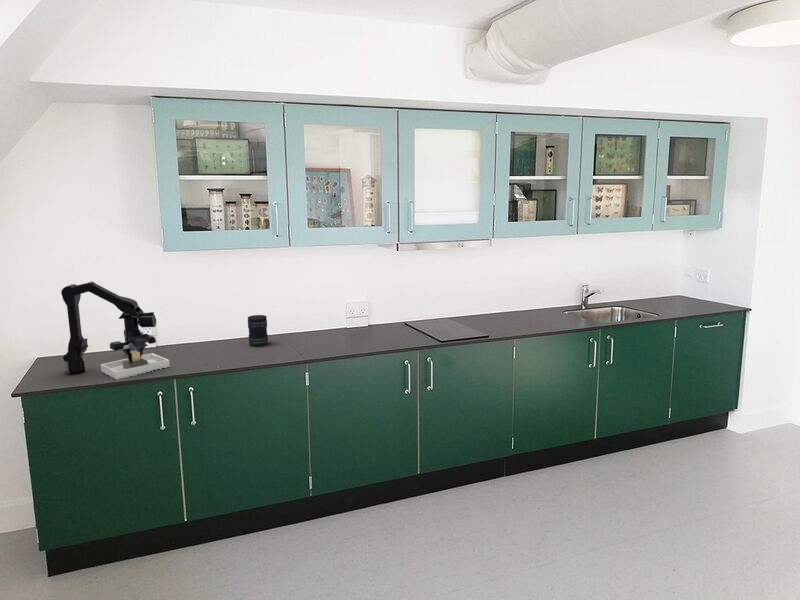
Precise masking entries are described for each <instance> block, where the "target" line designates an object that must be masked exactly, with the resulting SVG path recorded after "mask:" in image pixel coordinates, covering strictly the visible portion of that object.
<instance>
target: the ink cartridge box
mask: <svg viewBox="0 0 800 600" xmlns="http://www.w3.org/2000/svg"><path fill="white" fill-rule="evenodd" d="M140 333H141V335H143V334H144V332H143V331H140ZM123 336H124V342H126V341H125V339H126V336H125V332H124V331H123ZM129 348H130V349H131V350H130V351H134V350H137V347H134V345H129ZM146 354H147V353H146V347H145V348H144V349H143V352H142V355H146ZM142 355H141V356H142Z"/></svg>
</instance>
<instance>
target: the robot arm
mask: <svg viewBox="0 0 800 600" xmlns="http://www.w3.org/2000/svg"><path fill="white" fill-rule="evenodd" d="M60 291H61V296H62V300H63V303H64V304H65V305H66V310H67V311H66V312H67V319H68V328H69V341H68V346H67V352H66V353H65V354H64V355H63V357H62V359H63V362H65V369H66V370H65V373H66V374H68V375H70V376H71V375H75V374H80V373H84V372H86V365H85V360H83V356H84V354H85V352H87V349H88V348H89V344H88V338H84V337H83V334H82V333H83V332H82V324H81V315H80V305H79V303H80V300H81V296H82V294H85V293H91V294H93V295H94V296H97V297H99V298H101V299H102V300H104V301H107V302H108V303H111V304H112V305H113V306H115V307H116V309H117V310H119V311H120V312H122V313H121V315H120V316H119V317H118V319H119V320H123V323H124V329H123V333H124V332H125V336H126V339H125V338H124V341H123V342H122V341H120V340H117V341H113V342H110V344H109V349H110V350H113V352H115V351H117V352H118V351H122V352H123V353H124V354H125V356H126V359H128V360H129V361H130V362H131V354H130V350H131V349H130V348H129V345H134V347H137V351H140V359H141V355H142V352H143V349H144V348H145V349H146V347H148V346H149V345H150V344H155V343H156V342H157V340H156V337H155V336H153V335H150V334H149V333H143V335H141V333H140V332H141V330H140V328H139V327H141V328H156V326H157V317H156V314H155V312H154V311H149V312H144V310H143V309H142V308H141V307H140V306H139V304H138V302H137V300H136V299H132V298H130V297H127V296H121V295H119V294H117V293H114V292H112V291H110V289H107V288H105V287H103V286H101V285H99V284H97V283H96V282H95V281H89V282H86V283H82V284H76V283H75V284H74V283H73V284H72V283H71V284H69V285H66V286H64V287H63V288H62V289H61V290H60ZM125 341H126V342H125ZM147 343H148V344H149V345H148V344H147Z"/></svg>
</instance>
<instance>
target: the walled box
mask: <svg viewBox="0 0 800 600" xmlns="http://www.w3.org/2000/svg"><path fill="white" fill-rule="evenodd" d="M140 360H141V361H140V362H136V363H130V362H129V360H128V358H124V359H123V358H122V359H119V360H114V361H110V362H104V363H101V364H100V372H101V373H102V374H105V375H106V376H108V375H109V377H111V378H112V379H115V380H116V381H118V380H122V379H126V378H130V376H131V377H135V376H139V375H143V374H147V373H146V372H148V373H151V372H150V371H152V372H154V371H153V370H156V371H158V370H157V369H160V370H163V369H162V368H165V369H168V368H167V367H169V368H171V366H170V359H167V358H166V357H162V356H160V355H159V354H155V353H153V352H152V353H146V355H142V356H141V359H140ZM142 373H143V374H142ZM138 374H139V375H138Z"/></svg>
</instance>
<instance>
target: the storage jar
mask: <svg viewBox="0 0 800 600" xmlns="http://www.w3.org/2000/svg"><path fill="white" fill-rule="evenodd" d="M267 318H268V316H267V315H264V314H255V315H249V316H247V327H248V343H249V344H248V345H249V347H251V348H263V347H267V346H268V345H269V343H268V342H269V336H268V335H269V334H268V329H267V328H268V320H267Z"/></svg>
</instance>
